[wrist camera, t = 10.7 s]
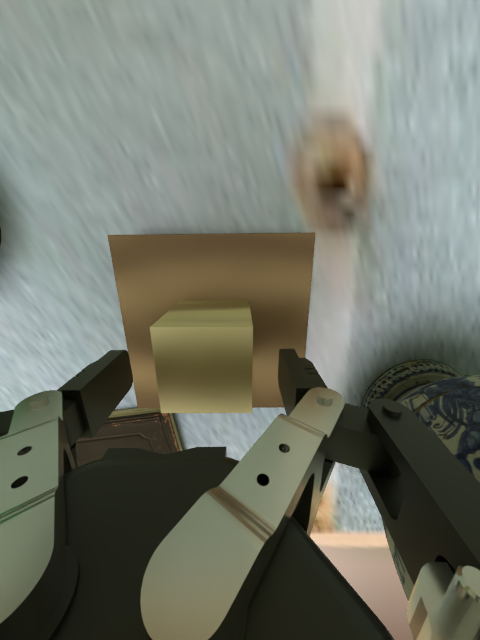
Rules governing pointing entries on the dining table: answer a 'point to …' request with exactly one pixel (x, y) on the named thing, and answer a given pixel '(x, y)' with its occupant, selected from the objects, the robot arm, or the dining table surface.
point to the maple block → (204, 357)
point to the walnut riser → (215, 294)
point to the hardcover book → (132, 434)
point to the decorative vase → (434, 417)
